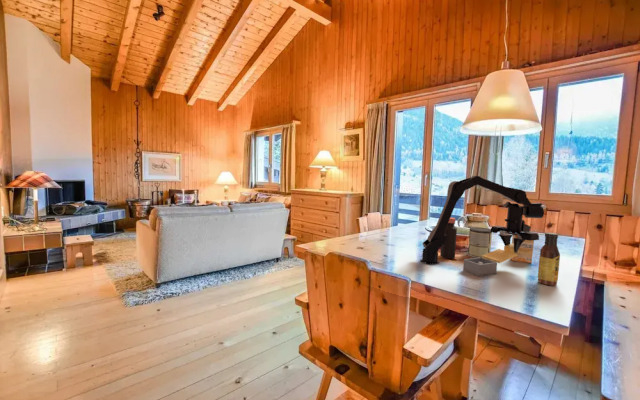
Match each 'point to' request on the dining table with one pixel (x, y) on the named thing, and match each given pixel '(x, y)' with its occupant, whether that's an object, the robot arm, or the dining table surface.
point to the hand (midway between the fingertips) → (511, 251)
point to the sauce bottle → (549, 261)
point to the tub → (480, 266)
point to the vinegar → (449, 241)
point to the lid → (501, 254)
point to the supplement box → (524, 251)
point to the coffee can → (479, 242)
